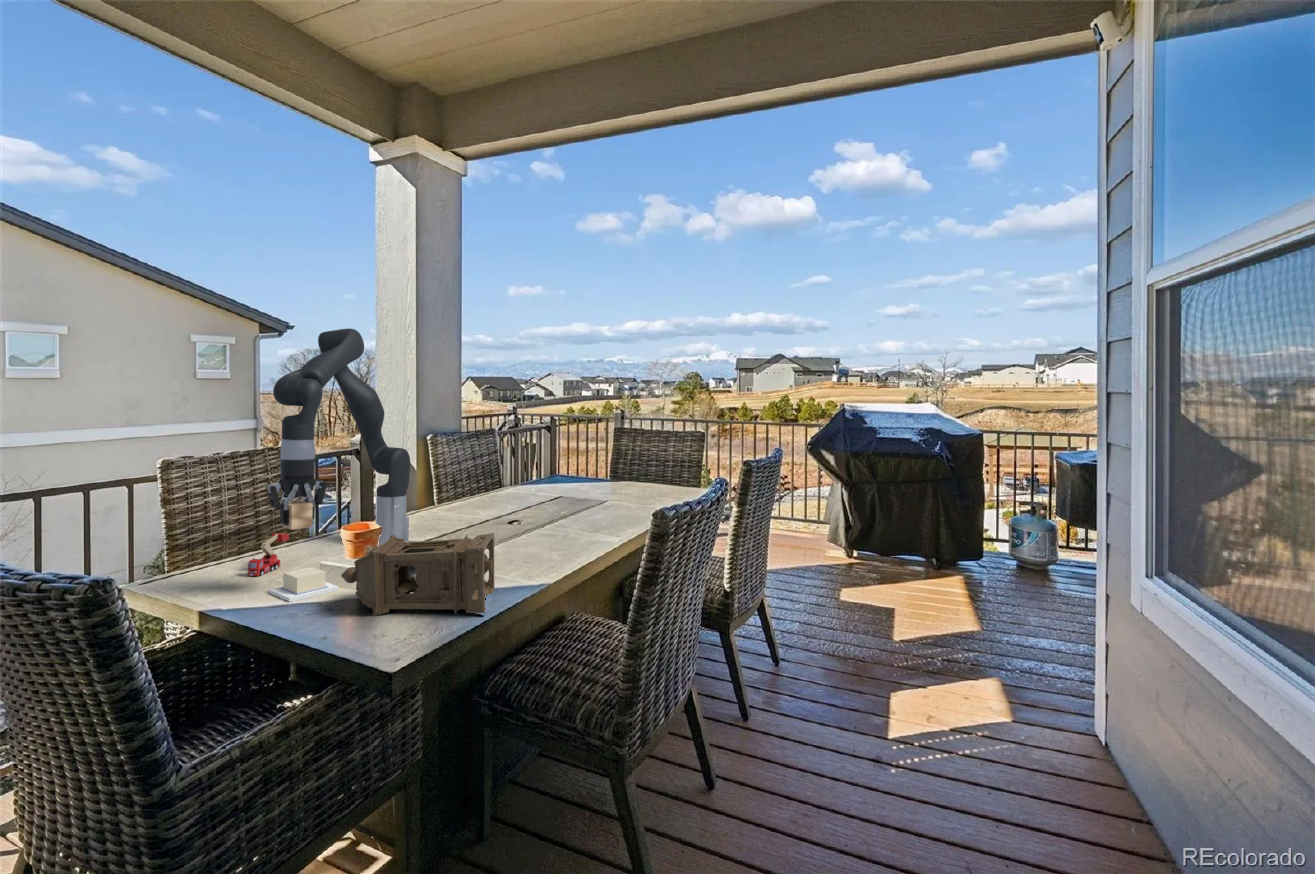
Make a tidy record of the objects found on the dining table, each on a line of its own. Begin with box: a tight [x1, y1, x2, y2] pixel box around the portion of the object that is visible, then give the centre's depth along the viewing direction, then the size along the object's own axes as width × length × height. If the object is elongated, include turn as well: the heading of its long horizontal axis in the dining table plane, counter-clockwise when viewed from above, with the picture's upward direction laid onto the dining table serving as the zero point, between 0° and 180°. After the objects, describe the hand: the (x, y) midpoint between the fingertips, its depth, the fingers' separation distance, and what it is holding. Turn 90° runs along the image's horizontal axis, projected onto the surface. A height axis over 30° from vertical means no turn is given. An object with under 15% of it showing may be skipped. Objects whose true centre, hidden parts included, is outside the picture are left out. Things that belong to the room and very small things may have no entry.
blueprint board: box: [269, 566, 339, 603], centre depth 155 cm, size 12×10×5 cm
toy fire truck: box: [247, 532, 290, 577], centre depth 171 cm, size 3×14×10 cm, turn 179°
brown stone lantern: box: [340, 532, 495, 617], centre depth 148 cm, size 35×18×18 cm, turn 96°
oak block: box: [281, 500, 313, 531], centre depth 154 cm, size 5×5×6 cm
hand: (297, 522), depth 154 cm, fingers closed on oak block, 5 cm apart
